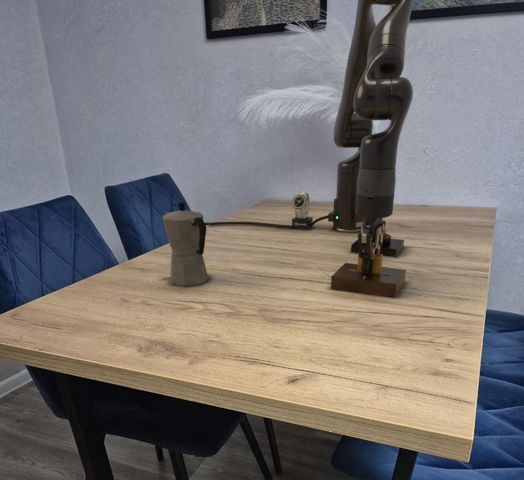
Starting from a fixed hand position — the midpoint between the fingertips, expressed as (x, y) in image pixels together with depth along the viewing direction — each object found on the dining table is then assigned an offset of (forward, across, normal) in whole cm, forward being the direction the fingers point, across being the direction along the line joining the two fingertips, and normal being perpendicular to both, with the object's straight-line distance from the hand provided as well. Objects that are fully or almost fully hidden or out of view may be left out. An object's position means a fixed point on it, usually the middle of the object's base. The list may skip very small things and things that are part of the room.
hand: (369, 272), depth 103 cm
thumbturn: (0, 0, 0) cm, 0 cm away
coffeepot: (+3, +12, -39) cm, 41 cm away
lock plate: (+3, 0, 0) cm, 3 cm away
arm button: (-1, -28, -5) cm, 29 cm away
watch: (+3, -45, -34) cm, 57 cm away
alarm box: (+3, -28, -5) cm, 29 cm away
